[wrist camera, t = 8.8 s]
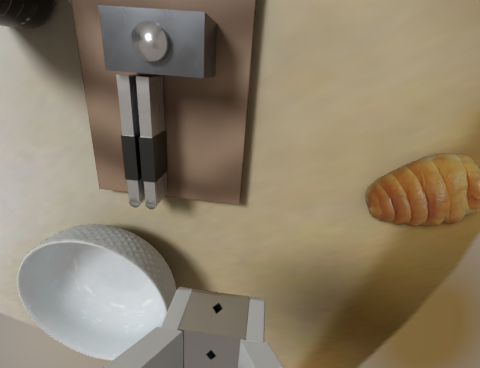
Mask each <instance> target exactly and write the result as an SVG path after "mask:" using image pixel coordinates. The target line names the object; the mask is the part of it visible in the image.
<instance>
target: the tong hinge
mask: <svg viewBox="0 0 480 368" xmlns="http://www.w3.org/2000/svg"><path fill="white" fill-rule="evenodd" d="M98 10H99V18H100V27H101V35H102V44H103V52H104V61H105V69H106V70H108V71H121V72H133V73H145V74H158V75H170V76H182V77H195V78H210V77H215V73H216V43H217V23H216V22H215V21H214V20H213V19H212V18H211V17H210V16H209V15H208V14H206V13H205V12H199V11H183V10H168V9H152V8H137V7H121V6H106V5H98Z"/></svg>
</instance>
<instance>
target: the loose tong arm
mask: <svg viewBox="0 0 480 368" xmlns="http://www.w3.org/2000/svg"><path fill="white" fill-rule="evenodd" d="M136 86H137V99H138V112H139V125H140V137H139V147H140V159H141V172H142V181H144V190H145V203H146V206H147V207H148V208H149V209H154V208H155V207H156V206H157V205H158V204H159V203H160V201H161V200H162V199H163V198H164V197H165V195H166V194H167V171H168V160H167V133H166V130H165V119H164V93H163V76H136Z"/></svg>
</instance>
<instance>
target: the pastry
mask: <svg viewBox="0 0 480 368" xmlns="http://www.w3.org/2000/svg"><path fill="white" fill-rule="evenodd" d="M365 197H366V203H367V206H368V209H369V212H370V214H371V215H372V216H374V217H375V218H377V219H379V220H381V221H388V222H392V223H394V224H397V225H399V224H404V223H406V224H408V225H412V226H418V225H420V224H422V225H424V226H430V225H439V224H441V223H442V221H443V222H445V223H449V224H452V223H456V222H459V221H461V220H462V219H463V217H464V215H469V214H472V213H474V212H480V169H479V167H478V165H477V164H476V163H475V162H474V161H473V159H472V158H471V157H469V156H467V155H461V154H436V155H432V156H428V157H424V158H421V159H419V160H417V161H413V162H412V163H410V164H407V165H404V166H402V167H401V168H398V169H396V170H394V171H392V172H390V173H388V174H386V175H384V176H382V177H380V178H379V179H377V180H376V181H375V182H374V183H373V184H372V185H371V186H370V187H369V188H368V190H367V192H366V195H365Z"/></svg>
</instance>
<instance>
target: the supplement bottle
mask: <svg viewBox="0 0 480 368" xmlns="http://www.w3.org/2000/svg"><path fill="white" fill-rule="evenodd" d="M53 6H54V0H0V25H1V26H8V27H15V28H23V29H30V28H35V27H38V26H40V25H42V24H43V23H44V22H45V21H46V20H47V19H48V18H49V16H50V15H51V12H52V10H53Z"/></svg>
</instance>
